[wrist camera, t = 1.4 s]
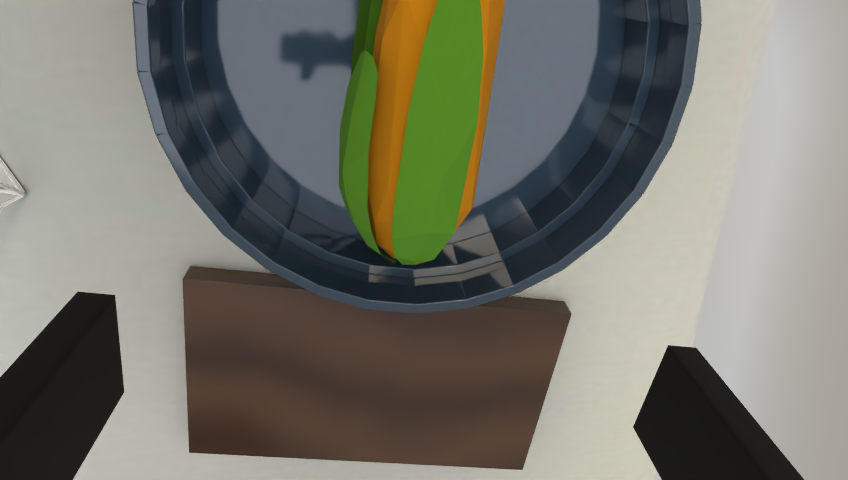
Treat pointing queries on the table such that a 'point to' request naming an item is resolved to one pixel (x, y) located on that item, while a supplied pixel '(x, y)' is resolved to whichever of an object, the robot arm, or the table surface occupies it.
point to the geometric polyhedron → (10, 189)
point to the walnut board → (363, 375)
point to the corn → (416, 120)
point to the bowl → (501, 153)
